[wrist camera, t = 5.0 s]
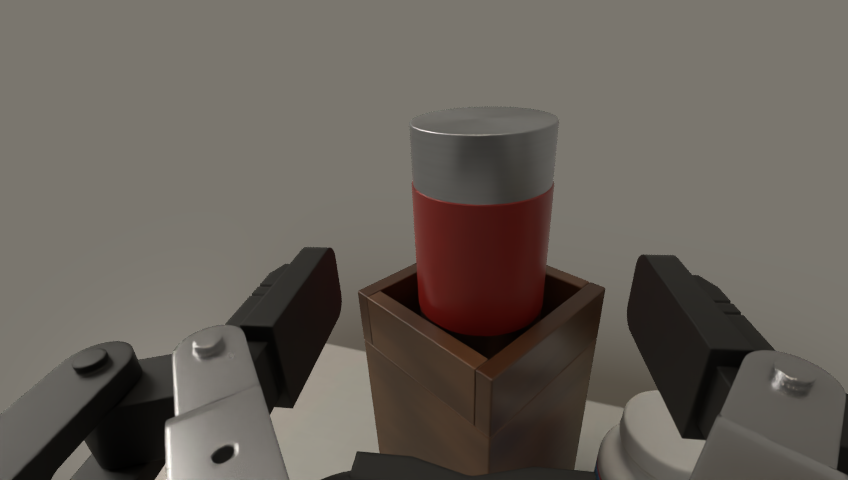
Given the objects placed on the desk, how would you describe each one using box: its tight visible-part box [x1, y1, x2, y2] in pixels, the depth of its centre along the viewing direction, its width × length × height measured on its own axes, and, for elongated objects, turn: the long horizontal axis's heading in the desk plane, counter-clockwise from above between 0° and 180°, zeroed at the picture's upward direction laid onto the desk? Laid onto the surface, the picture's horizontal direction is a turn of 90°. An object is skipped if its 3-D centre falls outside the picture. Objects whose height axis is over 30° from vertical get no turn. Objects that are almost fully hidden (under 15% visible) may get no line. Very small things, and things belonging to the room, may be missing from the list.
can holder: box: [358, 263, 605, 476], centre depth 24 cm, size 8×8×17 cm
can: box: [410, 107, 559, 360], centre depth 19 cm, size 6×6×11 cm
